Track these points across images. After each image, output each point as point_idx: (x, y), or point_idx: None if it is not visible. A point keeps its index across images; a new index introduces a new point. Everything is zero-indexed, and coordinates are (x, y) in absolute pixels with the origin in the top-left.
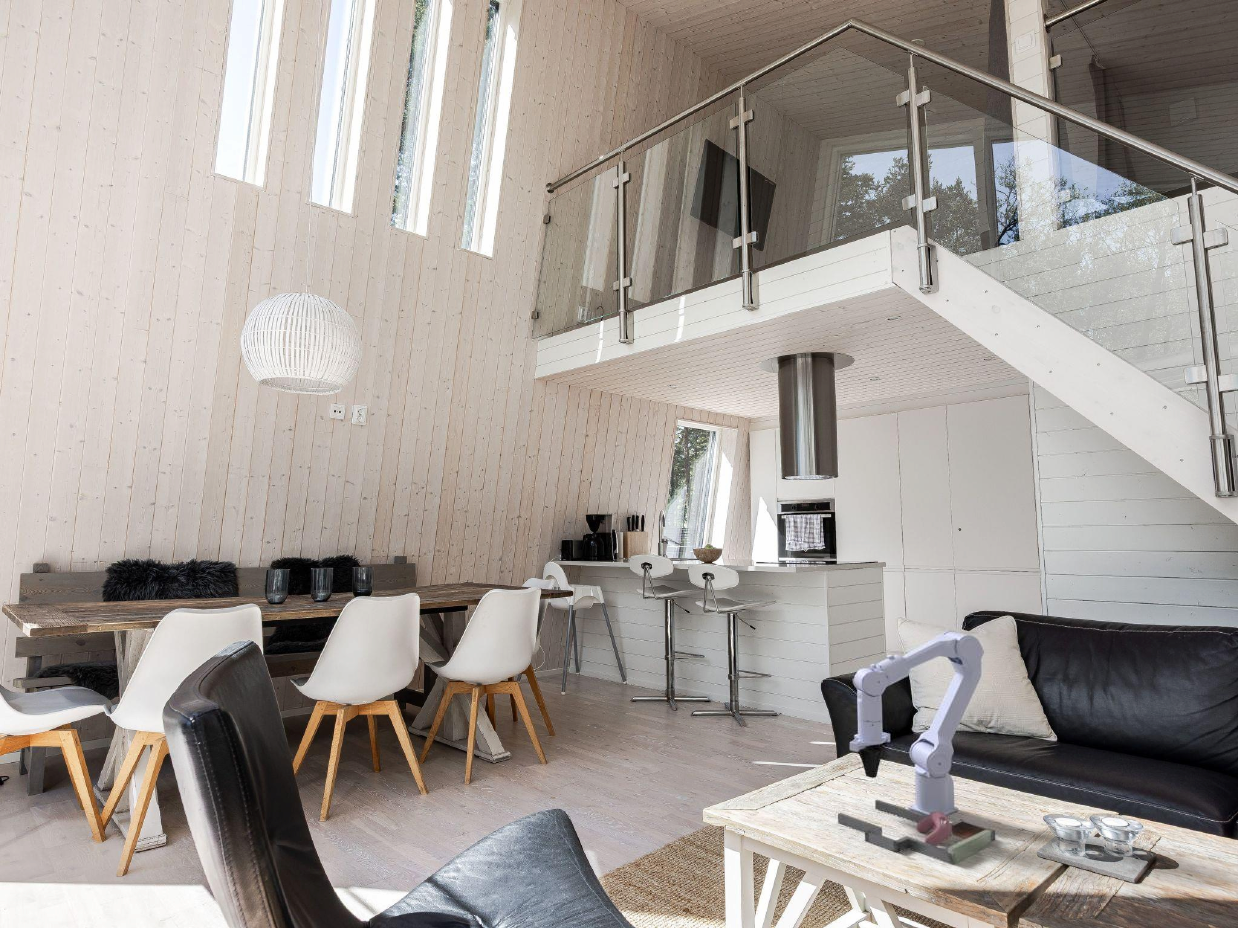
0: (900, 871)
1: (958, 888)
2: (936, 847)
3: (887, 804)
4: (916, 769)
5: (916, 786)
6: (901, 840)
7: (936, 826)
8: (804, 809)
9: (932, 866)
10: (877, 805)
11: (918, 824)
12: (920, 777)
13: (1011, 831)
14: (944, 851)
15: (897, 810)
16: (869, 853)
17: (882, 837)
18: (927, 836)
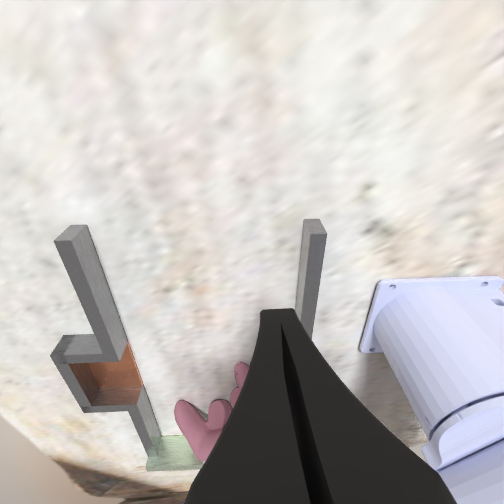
0: (36, 423)
1: (89, 467)
2: (148, 442)
3: (304, 279)
4: (487, 414)
5: (424, 357)
6: (105, 409)
7: (205, 442)
8: (5, 22)
9: (112, 433)
10: (305, 234)
11: (236, 379)
12: (431, 414)
13: (389, 425)
14: (147, 452)
15: (300, 302)
16: (24, 371)
17: (71, 388)
18: (178, 421)
